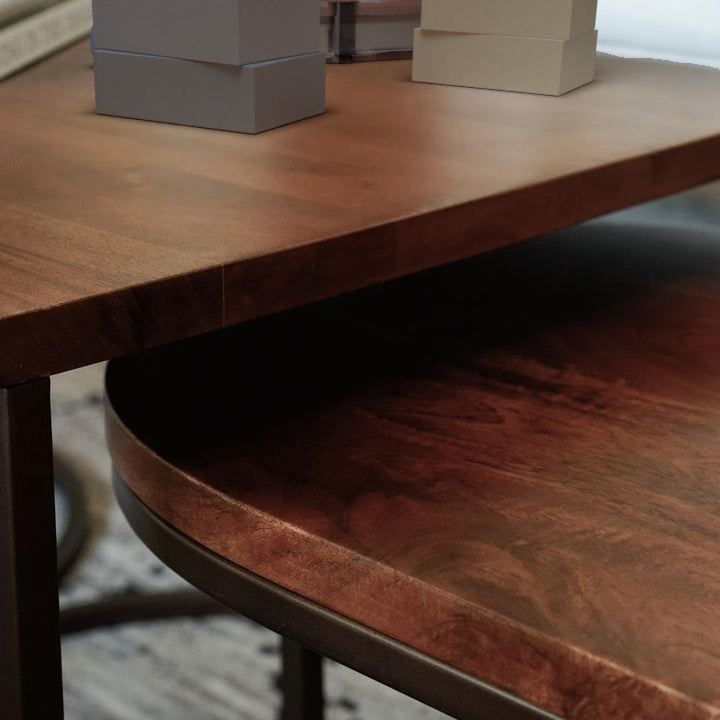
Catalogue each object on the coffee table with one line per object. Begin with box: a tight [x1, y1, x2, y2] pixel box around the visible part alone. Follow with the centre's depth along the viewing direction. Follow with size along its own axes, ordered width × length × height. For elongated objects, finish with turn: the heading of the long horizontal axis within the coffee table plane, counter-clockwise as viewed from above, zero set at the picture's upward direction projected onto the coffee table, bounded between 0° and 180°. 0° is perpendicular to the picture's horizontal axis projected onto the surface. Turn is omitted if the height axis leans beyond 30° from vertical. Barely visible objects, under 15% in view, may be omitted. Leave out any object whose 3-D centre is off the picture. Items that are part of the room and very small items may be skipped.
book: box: [319, 0, 422, 64], centre depth 106 cm, size 26×18×5 cm
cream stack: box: [411, 0, 599, 97], centre depth 91 cm, size 12×10×8 cm
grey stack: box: [91, 0, 327, 135], centre depth 75 cm, size 12×10×8 cm
